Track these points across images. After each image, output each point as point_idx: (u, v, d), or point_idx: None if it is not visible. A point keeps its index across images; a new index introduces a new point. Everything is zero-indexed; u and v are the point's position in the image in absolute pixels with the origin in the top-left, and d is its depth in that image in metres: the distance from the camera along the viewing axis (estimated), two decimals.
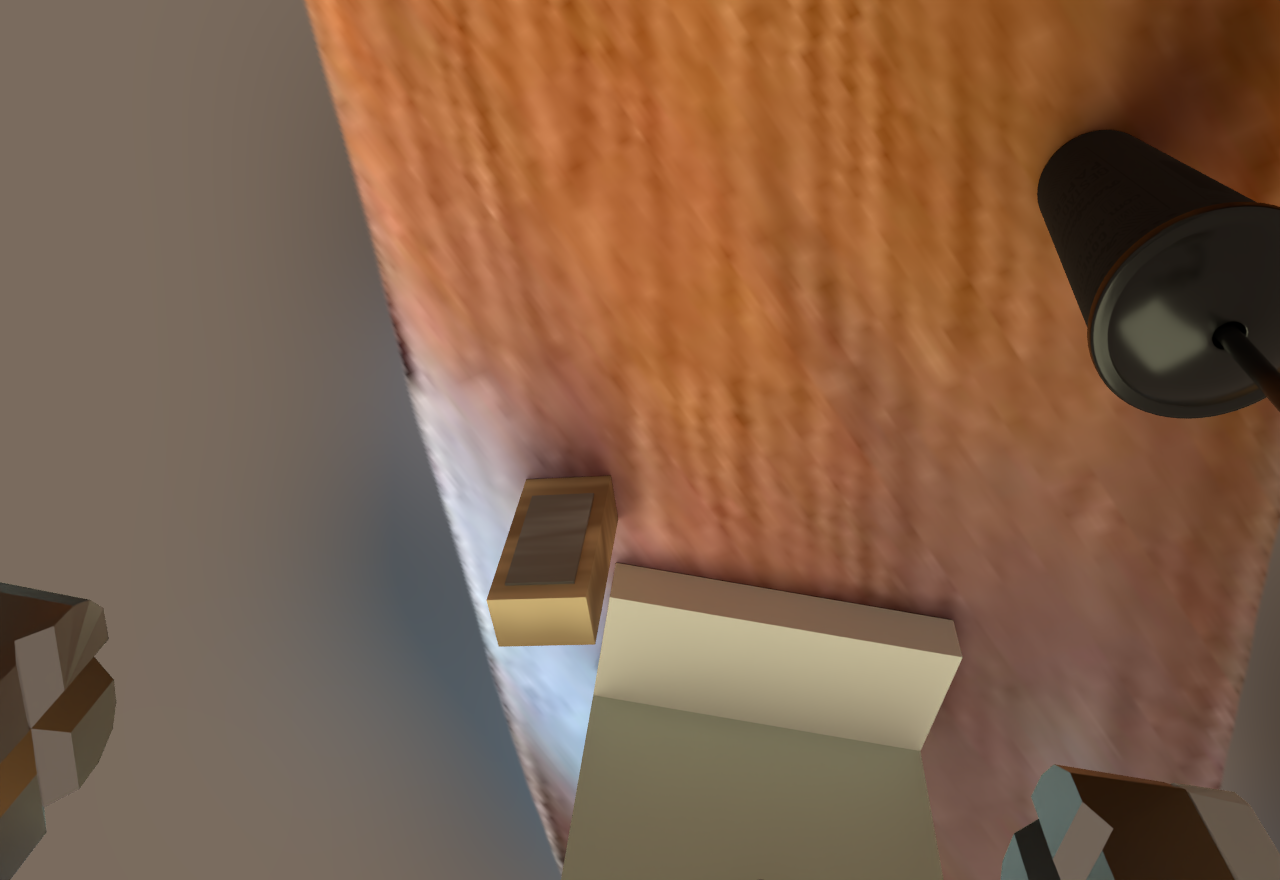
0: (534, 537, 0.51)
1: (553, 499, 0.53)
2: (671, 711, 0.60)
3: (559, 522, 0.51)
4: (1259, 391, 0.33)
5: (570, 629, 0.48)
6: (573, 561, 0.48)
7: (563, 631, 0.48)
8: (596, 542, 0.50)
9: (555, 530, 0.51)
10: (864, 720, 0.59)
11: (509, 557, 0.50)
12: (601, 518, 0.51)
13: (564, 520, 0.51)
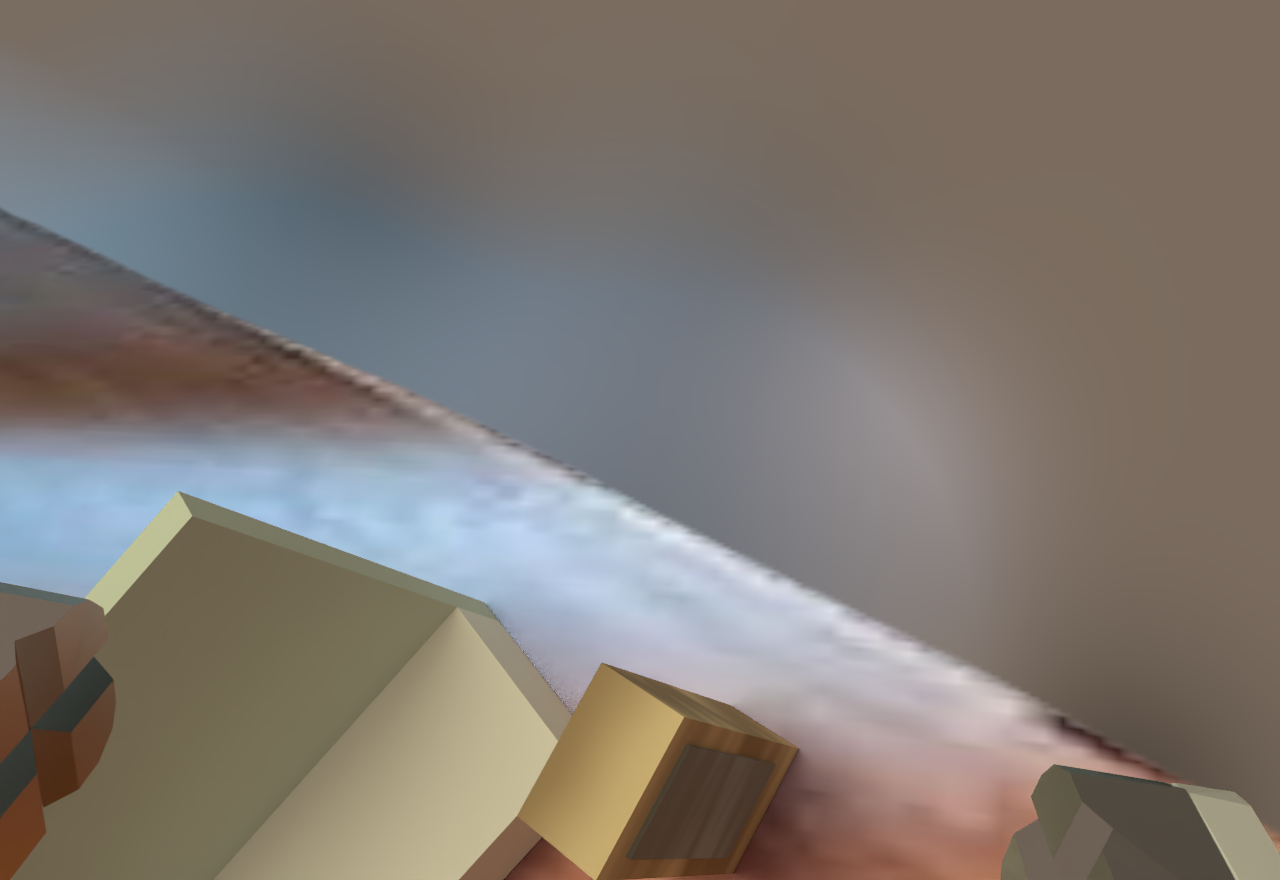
0: (724, 780, 0.30)
1: (754, 797, 0.33)
2: (374, 694, 0.40)
3: (720, 815, 0.31)
4: None
5: (561, 800, 0.27)
6: (658, 850, 0.28)
7: (564, 787, 0.27)
8: (661, 875, 0.29)
9: (714, 811, 0.30)
10: None
11: (719, 743, 0.29)
12: (688, 874, 0.31)
13: (718, 822, 0.31)
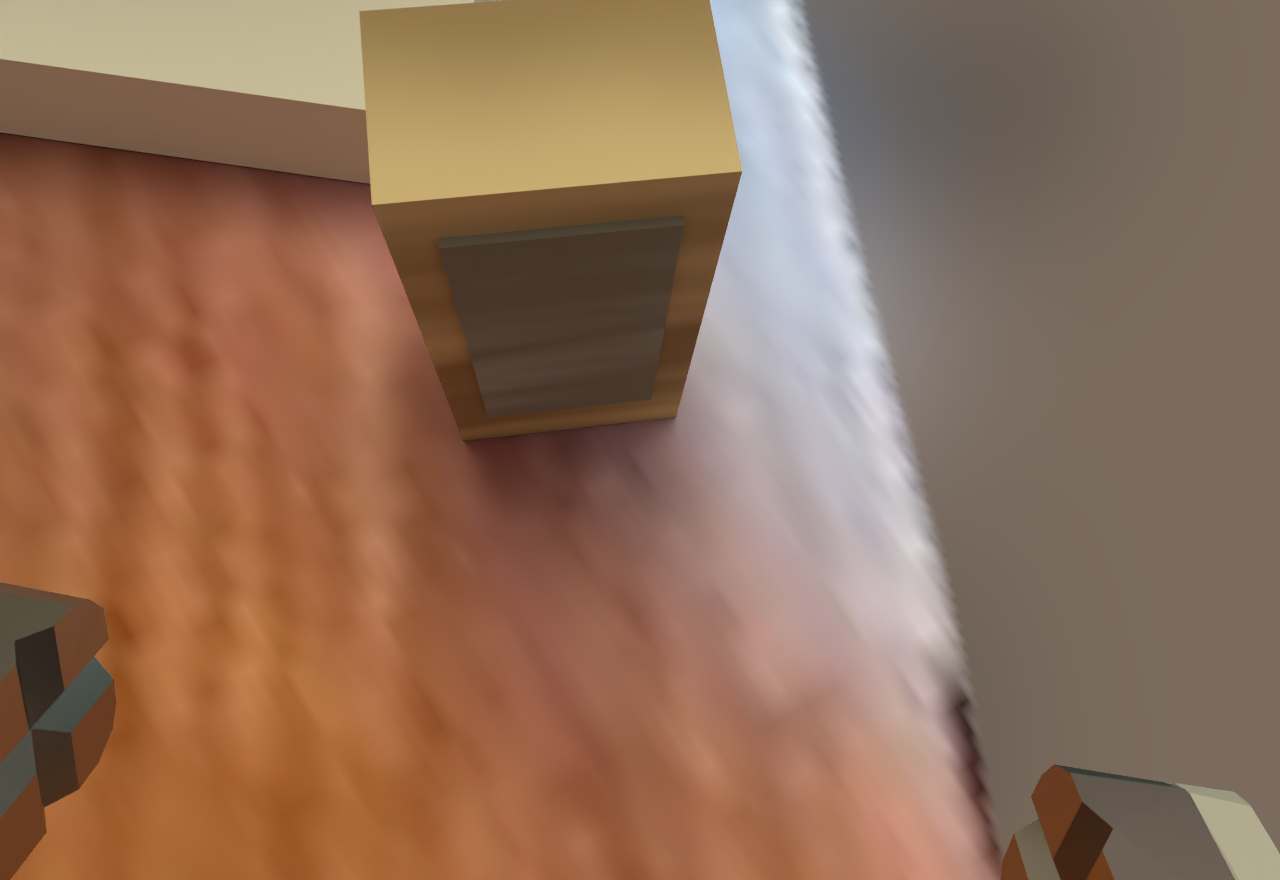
0: (618, 333, 0.17)
1: (592, 399, 0.20)
2: None
3: (555, 365, 0.18)
4: None
5: (445, 65, 0.13)
6: (471, 294, 0.15)
7: (469, 57, 0.13)
8: (424, 334, 0.17)
9: (561, 349, 0.18)
10: None
11: (683, 283, 0.16)
12: (441, 377, 0.18)
13: (543, 369, 0.18)
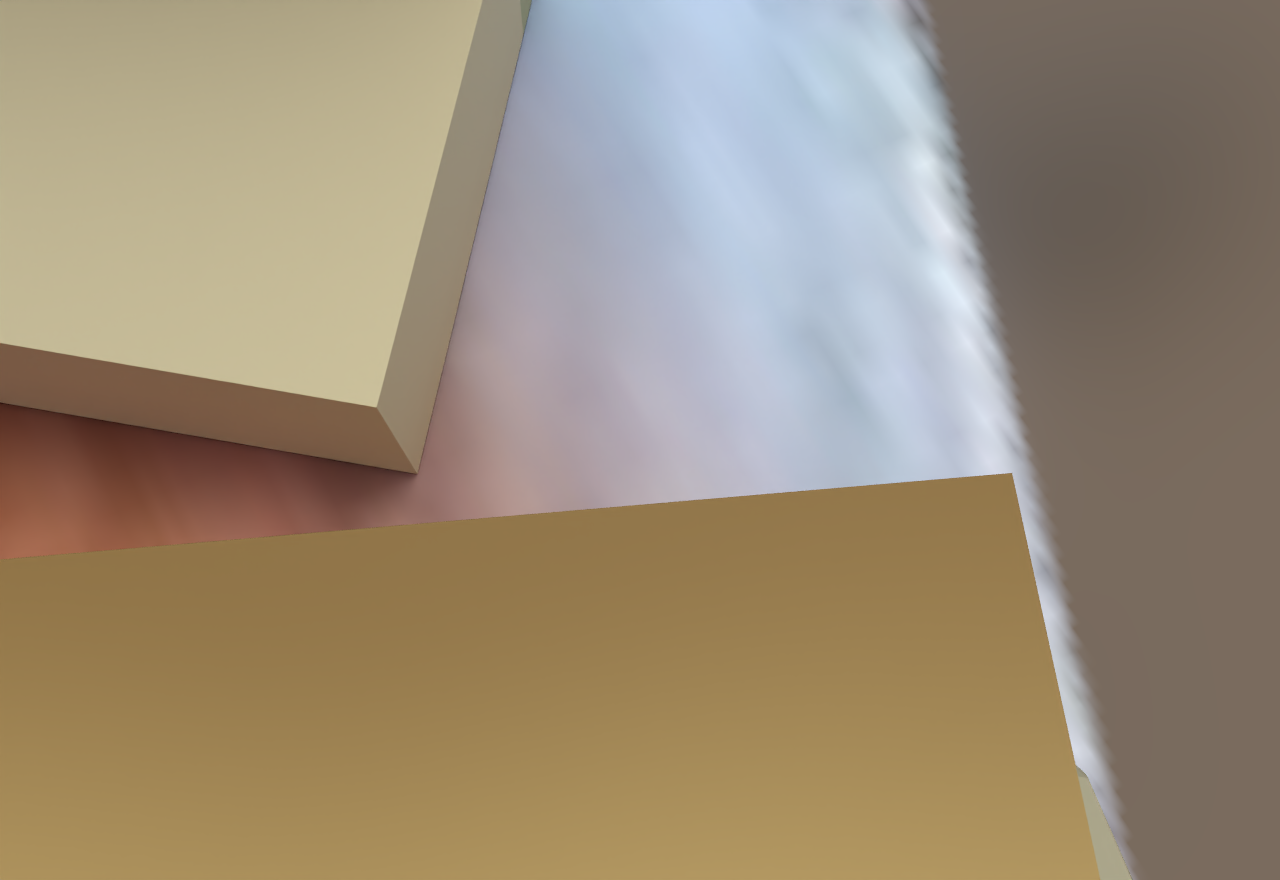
0: None
1: None
2: None
3: None
4: None
5: (190, 775, 0.04)
6: None
7: (275, 743, 0.04)
8: None
9: None
10: None
11: None
12: None
13: None
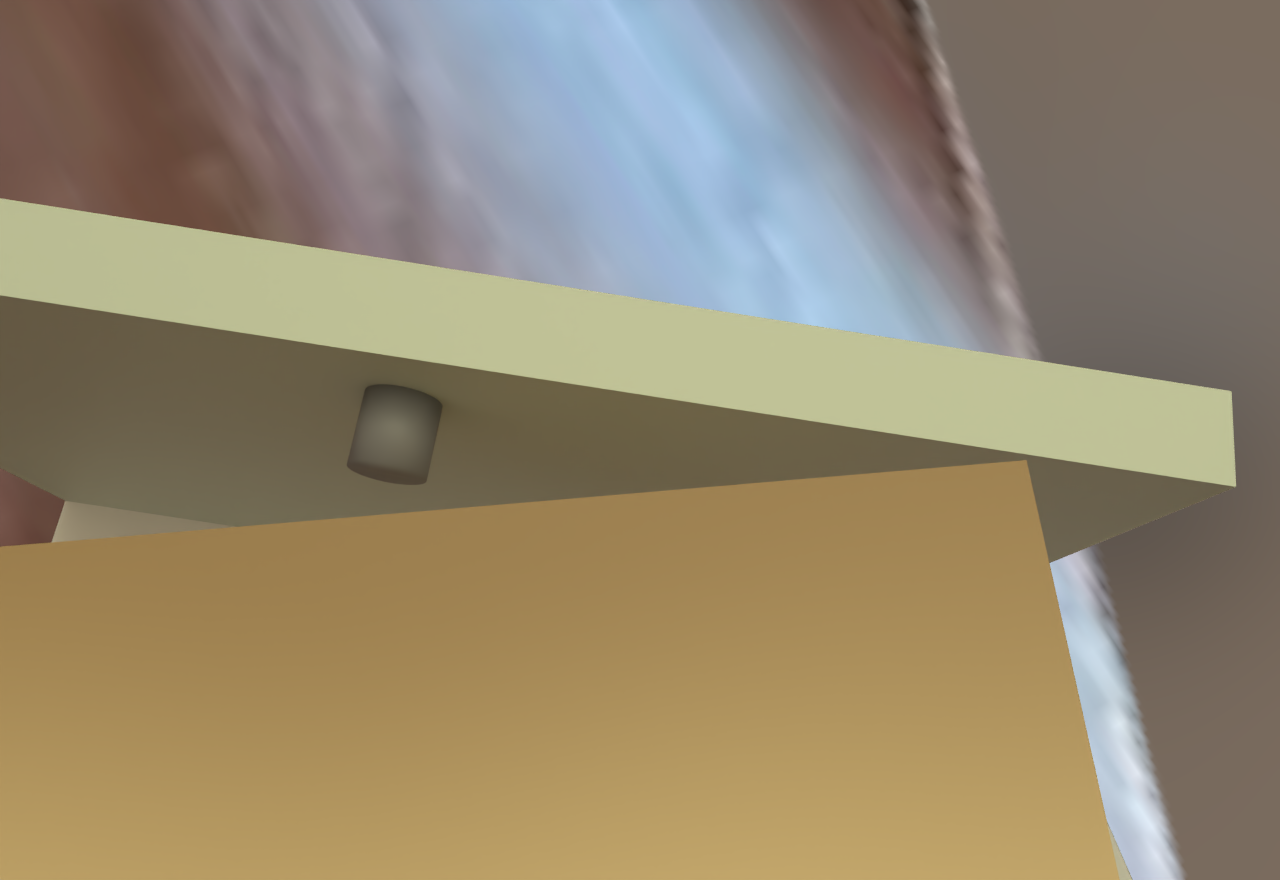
0: None
1: None
2: None
3: None
4: None
5: (193, 768, 0.04)
6: None
7: (280, 733, 0.04)
8: None
9: None
10: None
11: None
12: None
13: None
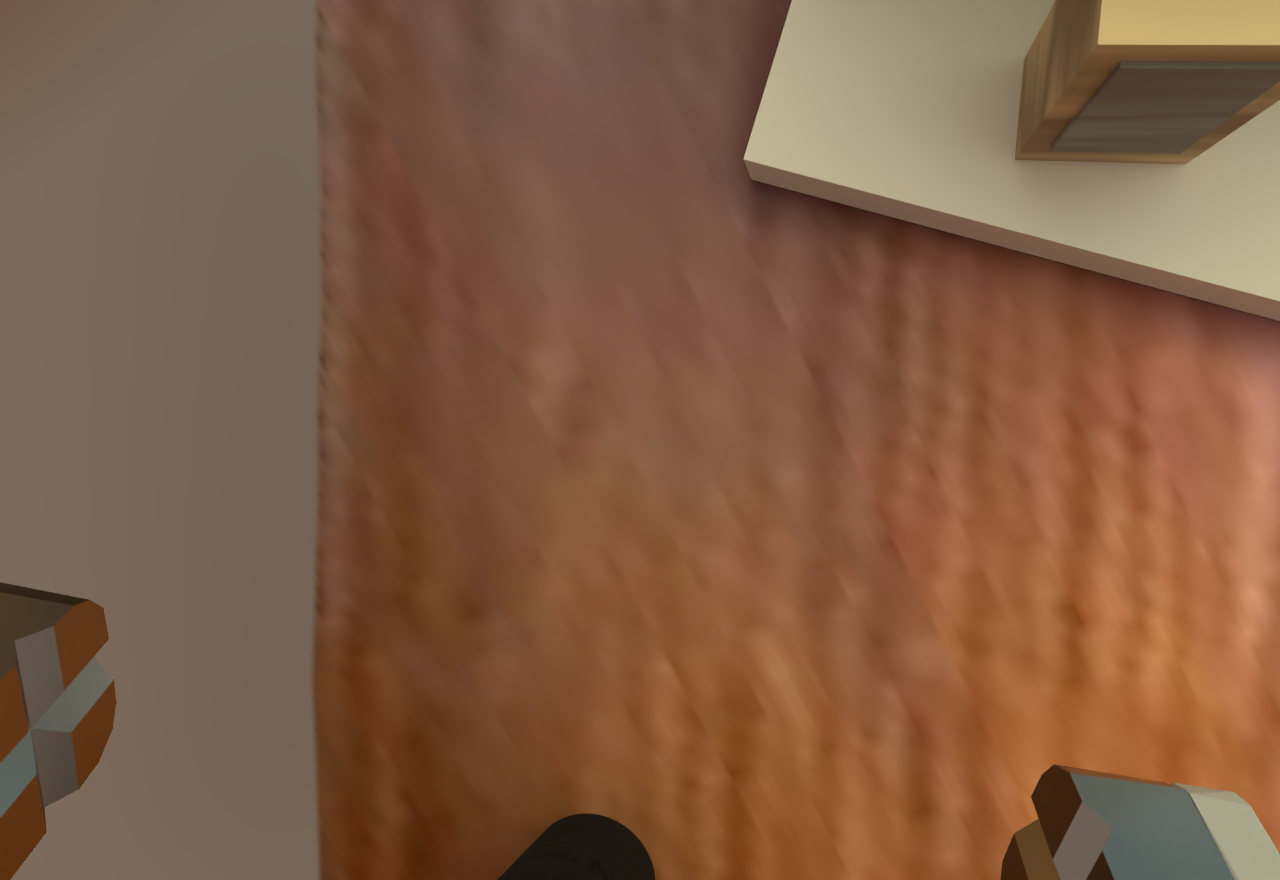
0: (1193, 116, 0.24)
1: (1137, 148, 0.27)
2: None
3: (1131, 128, 0.26)
4: None
5: None
6: (1114, 90, 0.23)
7: None
8: (1057, 102, 0.24)
9: (1143, 120, 0.25)
10: None
11: (1265, 93, 0.23)
12: (1041, 124, 0.26)
13: (1119, 129, 0.26)
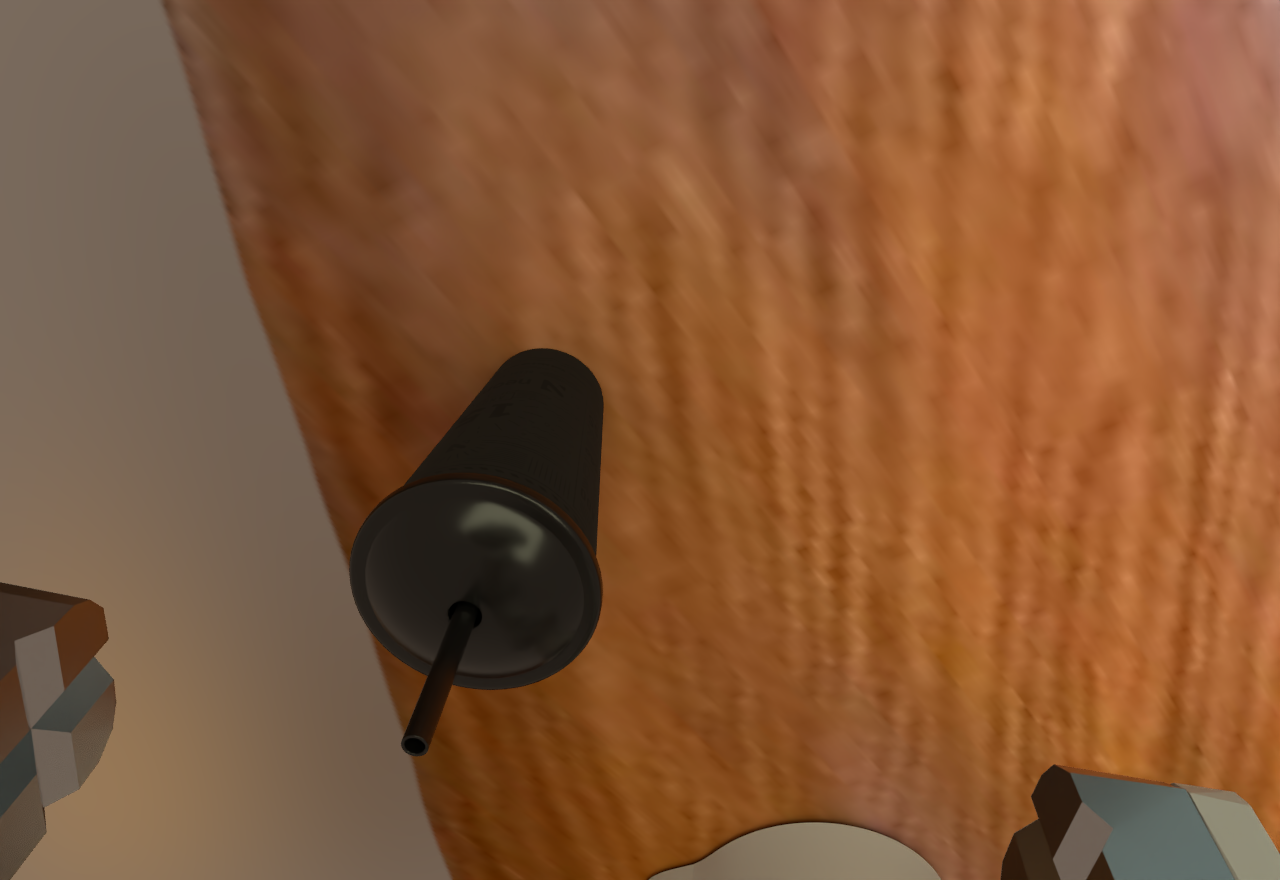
0: None
1: None
2: None
3: None
4: (392, 517, 0.29)
5: None
6: None
7: None
8: None
9: None
10: None
11: None
12: None
13: None
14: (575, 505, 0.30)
